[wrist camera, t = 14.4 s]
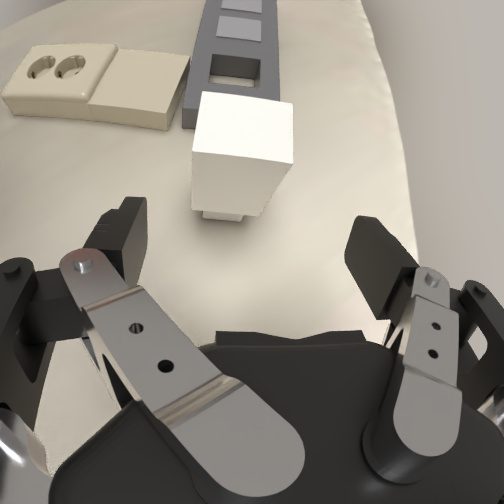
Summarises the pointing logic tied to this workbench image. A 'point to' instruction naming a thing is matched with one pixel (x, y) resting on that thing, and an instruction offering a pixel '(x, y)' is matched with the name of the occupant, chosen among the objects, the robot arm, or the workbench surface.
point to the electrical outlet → (98, 84)
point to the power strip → (234, 52)
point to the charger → (239, 154)
